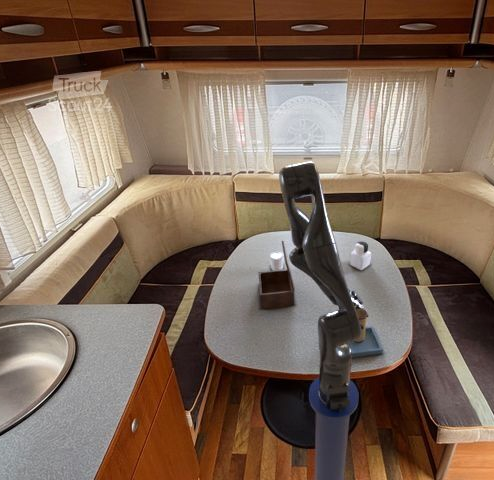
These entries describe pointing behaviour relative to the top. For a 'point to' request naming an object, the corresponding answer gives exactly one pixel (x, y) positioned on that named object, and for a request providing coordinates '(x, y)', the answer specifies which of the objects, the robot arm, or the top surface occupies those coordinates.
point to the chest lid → (288, 266)
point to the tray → (367, 344)
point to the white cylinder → (276, 260)
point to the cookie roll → (362, 318)
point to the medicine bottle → (360, 256)
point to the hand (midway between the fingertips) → (364, 322)
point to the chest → (275, 289)
